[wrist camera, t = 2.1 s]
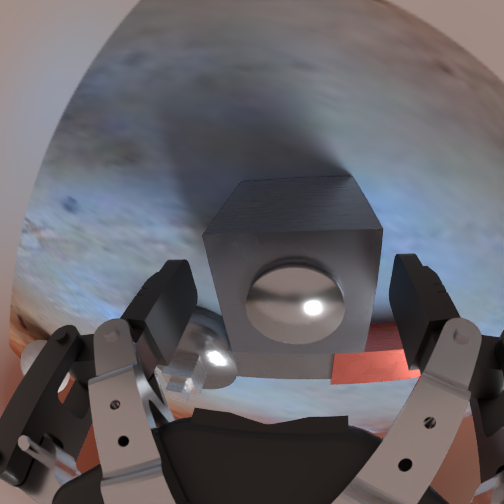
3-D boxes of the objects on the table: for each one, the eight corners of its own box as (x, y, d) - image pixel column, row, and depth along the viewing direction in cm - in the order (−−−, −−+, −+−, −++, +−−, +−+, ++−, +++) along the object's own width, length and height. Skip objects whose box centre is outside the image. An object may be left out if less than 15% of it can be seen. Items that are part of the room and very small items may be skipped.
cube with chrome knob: (352, 175, 13) (386, 235, 7) (350, 271, 15) (364, 359, 10) (241, 181, 14) (197, 241, 8) (255, 273, 17) (230, 358, 11)
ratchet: (433, 300, 15) (459, 364, 11) (409, 364, 19) (420, 421, 14) (146, 302, 20) (112, 355, 15) (174, 360, 23) (152, 410, 19)
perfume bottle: (60, 335, 27) (10, 406, 17) (94, 383, 32) (58, 447, 21) (30, 325, 28) (-15, 384, 18) (62, 370, 33) (28, 425, 23)
